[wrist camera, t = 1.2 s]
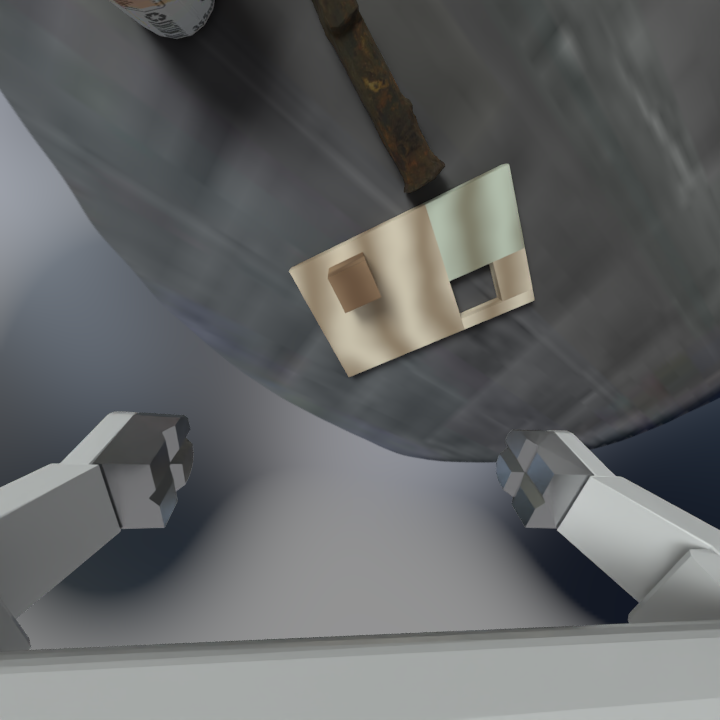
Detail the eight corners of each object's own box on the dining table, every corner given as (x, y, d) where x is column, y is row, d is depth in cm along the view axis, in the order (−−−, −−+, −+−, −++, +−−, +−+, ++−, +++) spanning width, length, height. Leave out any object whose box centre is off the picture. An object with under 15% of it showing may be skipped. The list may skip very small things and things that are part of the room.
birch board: (502, 164, 32) (509, 163, 31) (528, 296, 39) (534, 300, 38) (290, 267, 36) (289, 271, 35) (348, 371, 43) (348, 377, 42)
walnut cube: (362, 251, 34) (365, 260, 31) (377, 285, 36) (381, 297, 33) (328, 268, 35) (327, 278, 32) (344, 300, 37) (345, 313, 33)
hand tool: (438, 170, 33) (453, 169, 29) (404, 195, 34) (413, 197, 30) (329, -75, 24) (327, -125, 20) (286, -34, 25) (277, -75, 21)
